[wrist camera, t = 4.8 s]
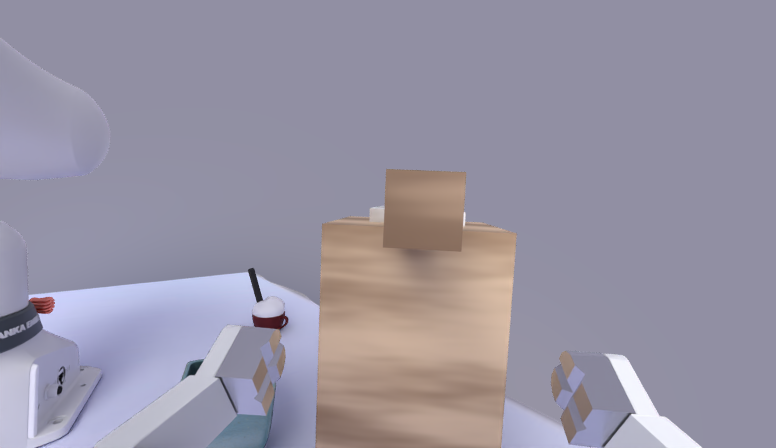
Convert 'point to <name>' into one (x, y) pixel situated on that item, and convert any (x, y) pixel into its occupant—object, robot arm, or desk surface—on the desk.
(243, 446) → the flower pot
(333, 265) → the oak stand
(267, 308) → the cocoa
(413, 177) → the turner
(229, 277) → the desk surface
